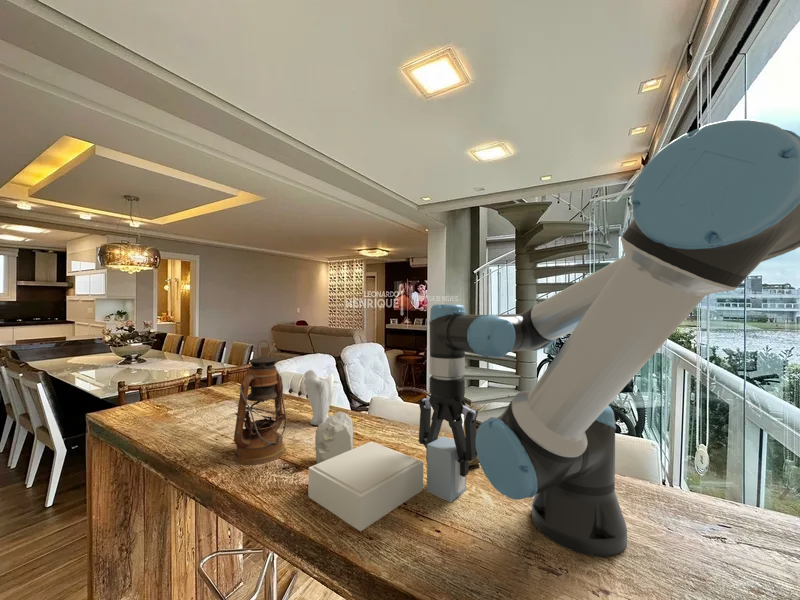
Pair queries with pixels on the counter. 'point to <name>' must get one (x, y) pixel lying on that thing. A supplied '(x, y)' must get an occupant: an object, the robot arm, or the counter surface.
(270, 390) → the lantern
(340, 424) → the stone
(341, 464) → the plinth
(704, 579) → the counter surface
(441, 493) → the block
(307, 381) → the white figurine
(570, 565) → the counter surface
